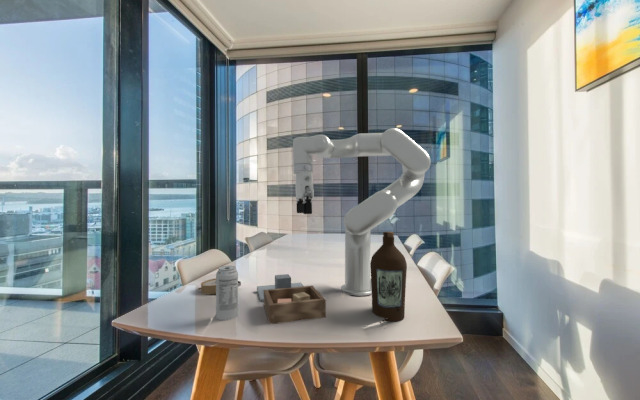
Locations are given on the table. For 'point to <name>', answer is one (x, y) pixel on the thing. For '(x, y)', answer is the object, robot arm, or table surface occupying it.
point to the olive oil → (388, 280)
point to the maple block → (301, 296)
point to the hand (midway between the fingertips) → (304, 213)
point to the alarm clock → (210, 286)
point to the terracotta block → (284, 300)
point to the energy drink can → (226, 293)
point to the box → (293, 305)
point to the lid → (278, 285)
